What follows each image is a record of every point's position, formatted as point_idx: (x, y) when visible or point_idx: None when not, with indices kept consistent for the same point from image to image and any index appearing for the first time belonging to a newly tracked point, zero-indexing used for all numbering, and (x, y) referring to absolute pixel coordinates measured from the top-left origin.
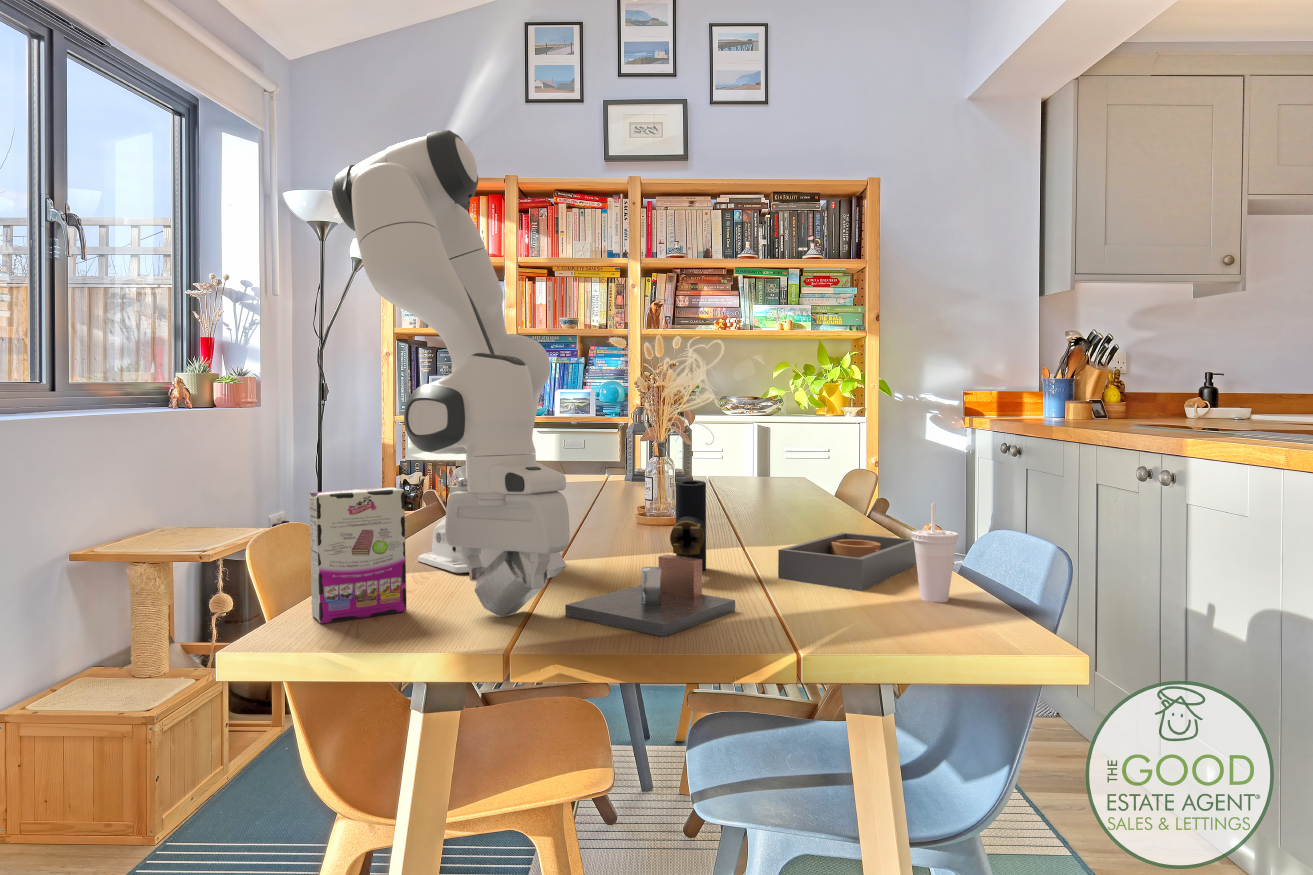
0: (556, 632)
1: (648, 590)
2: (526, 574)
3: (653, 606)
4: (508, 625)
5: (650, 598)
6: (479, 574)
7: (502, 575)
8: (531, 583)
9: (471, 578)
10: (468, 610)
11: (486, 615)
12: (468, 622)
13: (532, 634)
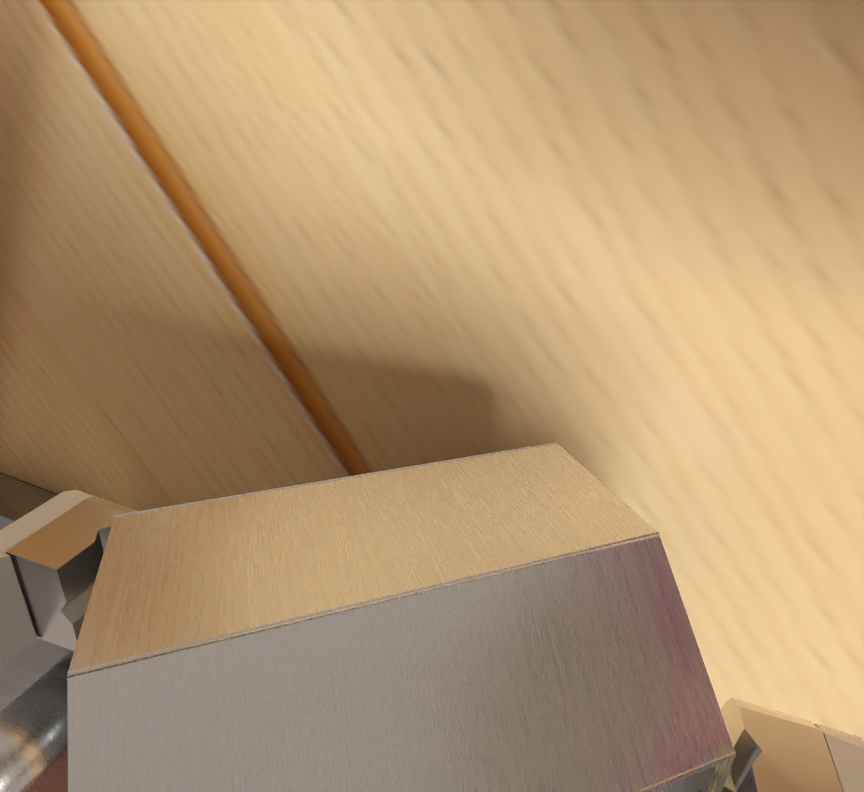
0: (119, 344)
1: (9, 709)
2: (56, 575)
3: (33, 646)
4: (354, 352)
5: (34, 684)
6: (741, 786)
7: (235, 559)
8: (63, 510)
9: (834, 744)
10: (827, 559)
11: (614, 487)
12: (609, 301)
13: (156, 265)
